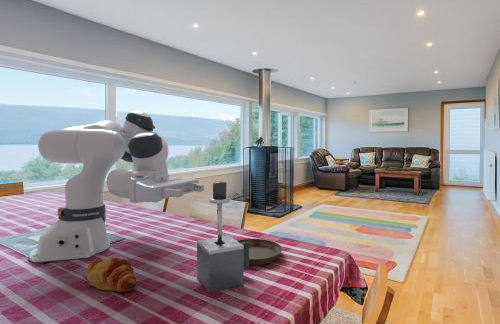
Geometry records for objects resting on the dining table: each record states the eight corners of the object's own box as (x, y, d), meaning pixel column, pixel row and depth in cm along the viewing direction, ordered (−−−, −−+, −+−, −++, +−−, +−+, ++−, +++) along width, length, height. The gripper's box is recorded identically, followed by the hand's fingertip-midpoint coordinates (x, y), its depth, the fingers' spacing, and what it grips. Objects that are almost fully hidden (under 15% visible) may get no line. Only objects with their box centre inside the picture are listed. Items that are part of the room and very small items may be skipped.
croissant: (80, 288, 86) (64, 266, 82) (111, 260, 92) (98, 239, 89) (125, 312, 73) (108, 288, 69) (157, 278, 80) (143, 254, 76)
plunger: (213, 247, 78) (213, 184, 77) (206, 241, 82) (206, 181, 81) (233, 244, 80) (233, 183, 79) (225, 238, 85) (225, 180, 84)
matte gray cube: (209, 292, 76) (209, 251, 75) (197, 277, 84) (197, 240, 83) (255, 282, 82) (256, 243, 81) (240, 269, 90) (240, 234, 89)
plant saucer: (266, 273, 88) (266, 262, 88) (213, 260, 97) (213, 250, 96) (291, 253, 103) (291, 244, 103) (243, 244, 112) (243, 235, 112)
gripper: (176, 192, 101) (213, 196, 95) (124, 203, 83) (167, 210, 77) (176, 172, 101) (214, 175, 95) (124, 179, 82) (167, 183, 76)
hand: (192, 191), depth 86 cm, fingers open, 8 cm apart
